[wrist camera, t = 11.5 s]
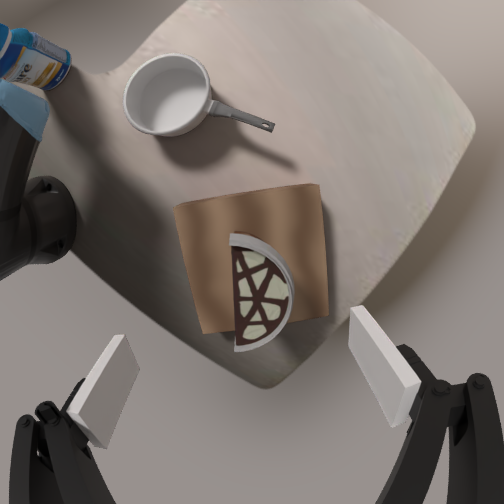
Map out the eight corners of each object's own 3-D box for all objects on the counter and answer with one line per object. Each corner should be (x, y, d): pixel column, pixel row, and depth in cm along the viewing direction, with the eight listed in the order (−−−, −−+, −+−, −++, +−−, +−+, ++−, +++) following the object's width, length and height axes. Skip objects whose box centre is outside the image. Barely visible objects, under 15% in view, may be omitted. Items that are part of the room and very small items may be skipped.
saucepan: (253, 172, 36) (255, 172, 31) (127, 128, 33) (109, 123, 28) (285, 99, 33) (291, 88, 28) (157, 60, 31) (145, 46, 25)
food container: (283, 309, 36) (294, 354, 27) (237, 310, 36) (234, 356, 26) (285, 218, 33) (301, 237, 23) (234, 218, 33) (228, 238, 23)
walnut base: (207, 316, 42) (203, 333, 37) (182, 203, 37) (172, 207, 32) (320, 300, 41) (328, 315, 37) (310, 183, 36) (319, 185, 32)
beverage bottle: (79, 47, 28) (10, 7, 9) (64, 89, 30) (-17, 65, 11) (48, 53, 27) (-20, 26, 8) (35, 93, 30) (-41, 78, 11)
